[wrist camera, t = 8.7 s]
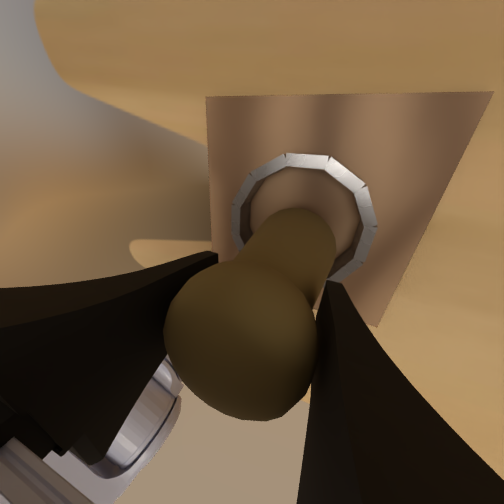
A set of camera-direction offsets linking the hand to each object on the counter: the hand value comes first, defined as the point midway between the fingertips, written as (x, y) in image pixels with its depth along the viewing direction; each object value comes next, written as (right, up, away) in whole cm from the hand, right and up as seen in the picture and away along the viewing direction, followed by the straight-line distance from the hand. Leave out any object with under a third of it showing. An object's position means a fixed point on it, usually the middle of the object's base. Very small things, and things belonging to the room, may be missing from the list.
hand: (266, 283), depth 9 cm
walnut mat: (+4, +4, +9) cm, 10 cm away
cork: (+3, +2, +6) cm, 6 cm away
